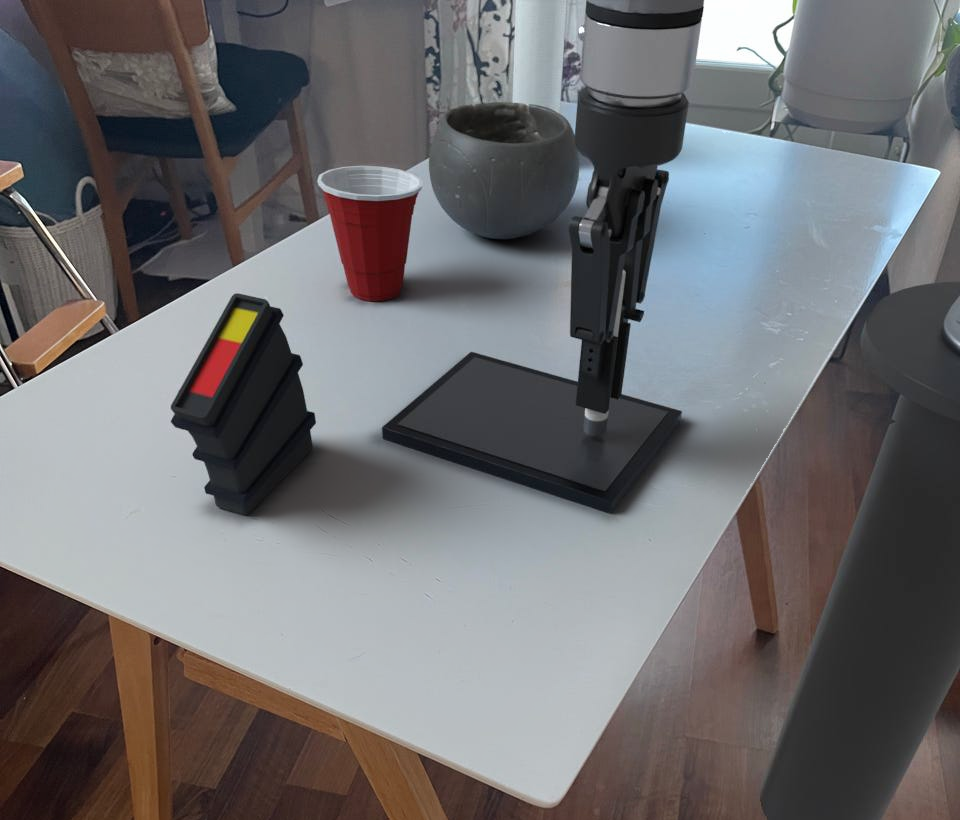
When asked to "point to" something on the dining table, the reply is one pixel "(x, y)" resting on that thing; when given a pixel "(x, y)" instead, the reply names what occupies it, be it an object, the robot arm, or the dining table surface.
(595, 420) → the stylus
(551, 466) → the tablet
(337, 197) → the plastic cup
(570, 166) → the bowl
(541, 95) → the paper towel roll
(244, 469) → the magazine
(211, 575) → the dining table surface
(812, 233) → the dining table surface
